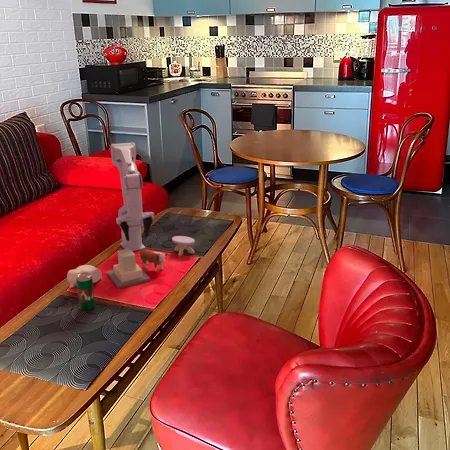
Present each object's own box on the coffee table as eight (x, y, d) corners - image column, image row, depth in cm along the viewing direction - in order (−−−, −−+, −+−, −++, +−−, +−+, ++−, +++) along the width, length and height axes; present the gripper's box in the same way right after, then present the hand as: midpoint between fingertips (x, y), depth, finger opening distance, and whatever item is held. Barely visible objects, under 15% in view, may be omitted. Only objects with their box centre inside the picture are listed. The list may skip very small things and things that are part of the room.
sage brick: (118, 265, 186) (117, 250, 184) (130, 262, 188) (129, 248, 186) (124, 272, 181) (123, 257, 179) (136, 269, 183) (135, 254, 181)
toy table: (167, 252, 206) (167, 240, 204) (181, 245, 213) (180, 232, 211) (186, 258, 201) (186, 245, 199) (199, 250, 208) (199, 237, 206)
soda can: (90, 301, 170) (86, 270, 165) (98, 307, 167) (94, 275, 162) (76, 307, 167) (72, 275, 162) (84, 312, 163) (80, 280, 159)
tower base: (107, 273, 189) (106, 264, 187) (137, 266, 194) (136, 257, 193) (118, 288, 178) (117, 278, 177) (149, 280, 184) (149, 270, 182)
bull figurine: (163, 276, 187) (162, 256, 184) (138, 266, 194) (136, 247, 191) (171, 271, 190) (170, 252, 187) (146, 262, 198) (145, 243, 195)
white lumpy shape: (83, 285, 187) (58, 289, 173) (86, 262, 187) (61, 265, 173) (103, 288, 184) (79, 293, 170) (106, 265, 184) (82, 268, 170)
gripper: (119, 210, 183) (122, 245, 187) (156, 204, 189) (158, 237, 194) (113, 205, 188) (116, 238, 193) (149, 199, 195) (151, 231, 200)
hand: (137, 237), depth 194 cm, fingers open, 7 cm apart
